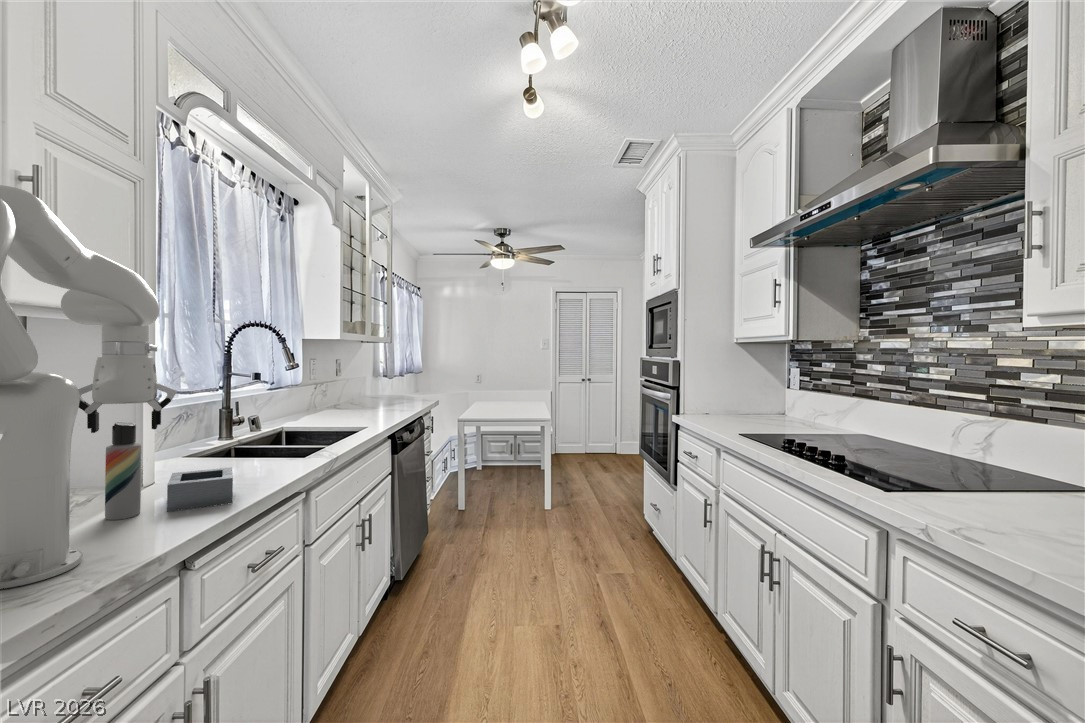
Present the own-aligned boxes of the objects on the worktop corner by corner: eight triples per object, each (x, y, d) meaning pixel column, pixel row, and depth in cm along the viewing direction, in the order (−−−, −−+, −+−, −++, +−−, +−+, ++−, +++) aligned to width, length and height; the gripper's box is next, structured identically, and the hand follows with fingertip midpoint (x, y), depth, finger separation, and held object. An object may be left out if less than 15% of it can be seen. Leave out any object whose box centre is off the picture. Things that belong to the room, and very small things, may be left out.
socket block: (232, 503, 110) (232, 477, 110) (167, 511, 103) (167, 484, 103) (231, 490, 120) (232, 467, 120) (172, 497, 113) (172, 473, 113)
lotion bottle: (114, 512, 102) (115, 420, 102) (145, 510, 104) (147, 420, 104) (98, 521, 97) (99, 424, 97) (132, 519, 98) (133, 424, 98)
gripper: (178, 350, 108) (177, 424, 109) (74, 349, 98) (74, 430, 99) (175, 351, 102) (175, 429, 102) (64, 349, 92) (64, 436, 93)
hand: (125, 430), depth 101 cm, fingers open, 9 cm apart
